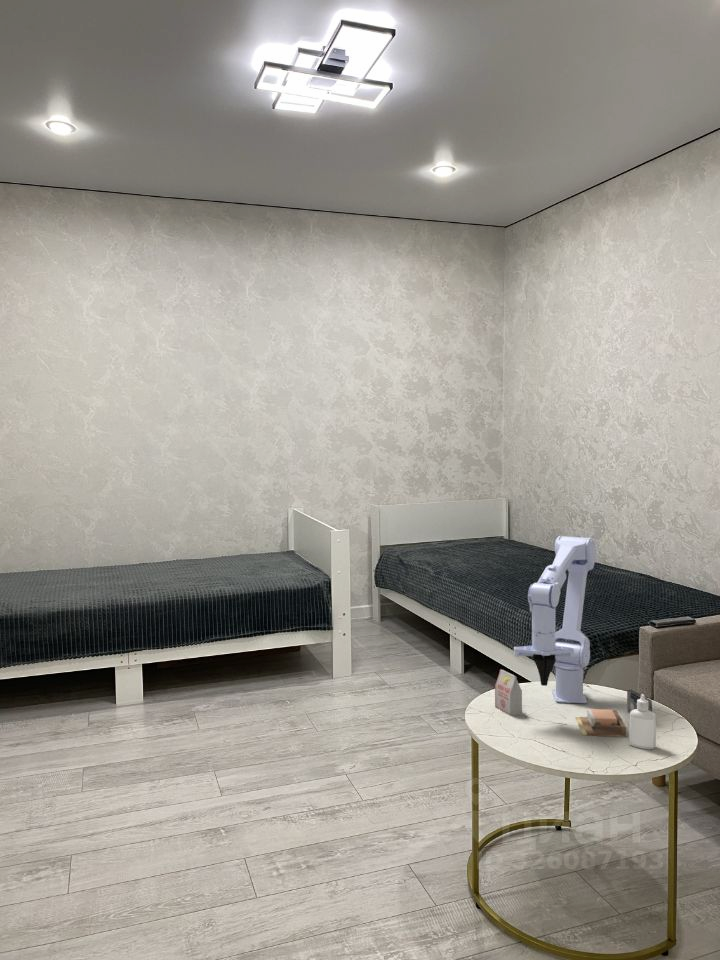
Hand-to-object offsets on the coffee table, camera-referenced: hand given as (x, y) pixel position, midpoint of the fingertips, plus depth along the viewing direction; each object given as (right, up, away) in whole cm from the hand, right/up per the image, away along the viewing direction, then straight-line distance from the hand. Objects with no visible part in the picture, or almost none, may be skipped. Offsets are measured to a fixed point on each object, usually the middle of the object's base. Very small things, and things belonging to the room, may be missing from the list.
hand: (543, 684), depth 187 cm
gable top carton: (-7, -9, +8) cm, 14 cm away
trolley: (+14, -9, -4) cm, 17 cm away
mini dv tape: (+25, -9, +2) cm, 26 cm away
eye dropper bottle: (+19, -10, -15) cm, 26 cm away
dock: (+13, -9, -4) cm, 17 cm away
